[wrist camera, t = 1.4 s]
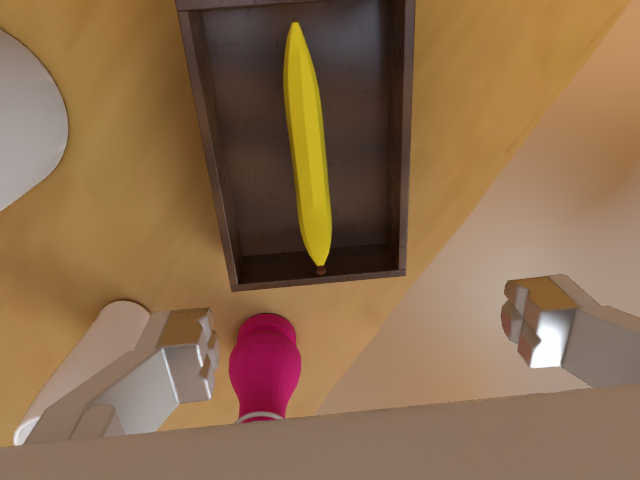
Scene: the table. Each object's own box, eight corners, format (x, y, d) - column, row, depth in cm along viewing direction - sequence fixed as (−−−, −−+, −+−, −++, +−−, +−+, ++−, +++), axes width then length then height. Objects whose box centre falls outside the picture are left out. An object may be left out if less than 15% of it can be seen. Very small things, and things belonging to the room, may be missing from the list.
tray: (191, 0, 32) (174, -2, 27) (396, -14, 32) (416, -19, 28) (237, 260, 42) (231, 292, 38) (392, 246, 43) (406, 276, 38)
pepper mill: (291, 303, 45) (295, 488, 28) (306, 353, 49) (317, 547, 31) (225, 316, 46) (186, 509, 28) (244, 366, 49) (220, 565, 31)
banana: (312, 17, 33) (318, 18, 27) (332, 238, 42) (339, 273, 36) (274, 21, 33) (272, 23, 27) (302, 241, 41) (304, 277, 36)
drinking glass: (129, 280, 43) (58, 401, 29) (175, 325, 46) (129, 453, 32) (78, 312, 44) (-11, 441, 31) (126, 353, 47) (63, 487, 34)
